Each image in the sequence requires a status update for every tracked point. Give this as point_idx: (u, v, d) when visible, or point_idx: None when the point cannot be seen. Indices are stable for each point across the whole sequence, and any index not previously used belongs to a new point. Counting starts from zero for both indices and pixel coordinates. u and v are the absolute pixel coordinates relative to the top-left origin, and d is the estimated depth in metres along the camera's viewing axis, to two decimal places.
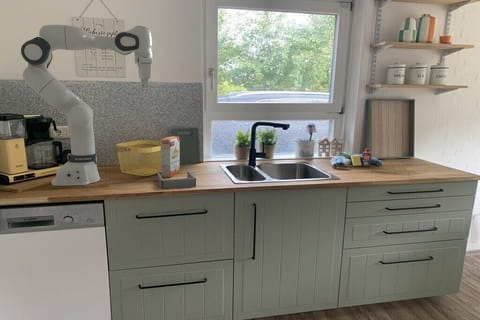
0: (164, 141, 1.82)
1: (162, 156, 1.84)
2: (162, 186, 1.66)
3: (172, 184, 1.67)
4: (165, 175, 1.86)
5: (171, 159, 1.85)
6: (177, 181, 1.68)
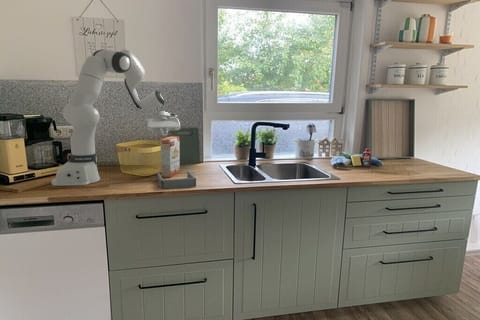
0: (164, 141, 1.82)
1: (162, 156, 1.84)
2: (162, 186, 1.66)
3: (172, 184, 1.67)
4: (165, 175, 1.86)
5: (171, 159, 1.85)
6: (177, 181, 1.68)
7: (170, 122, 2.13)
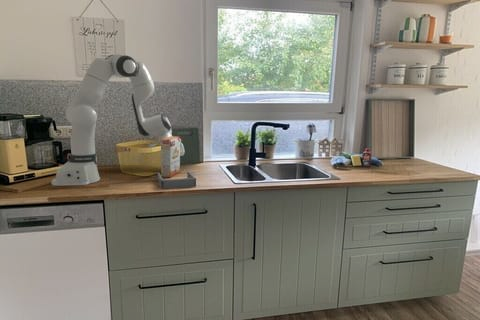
0: (164, 141, 1.82)
1: (162, 156, 1.84)
2: (162, 186, 1.66)
3: (172, 184, 1.67)
4: (165, 175, 1.86)
5: (171, 159, 1.85)
6: (177, 181, 1.68)
7: None
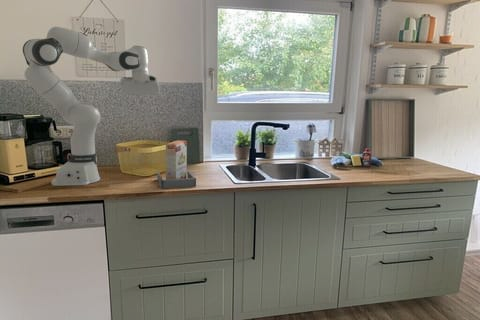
0: (169, 146, 1.68)
1: (167, 162, 1.70)
2: (162, 186, 1.66)
3: (172, 184, 1.67)
4: None
5: (177, 165, 1.71)
6: (177, 181, 1.68)
7: (149, 88, 1.87)
